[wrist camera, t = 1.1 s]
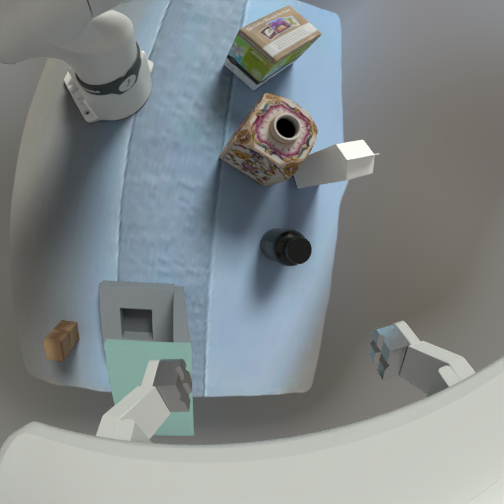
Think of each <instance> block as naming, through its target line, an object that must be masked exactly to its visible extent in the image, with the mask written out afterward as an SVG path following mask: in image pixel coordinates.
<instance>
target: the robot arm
mask: <svg viewBox="0 0 504 504" xmlns="http://www.w3.org/2000/svg"><path fill="white" fill-rule="evenodd" d="M130 1H132V0H2V1H1V2H0V63H2V64H16V63H18V62H21V61H24V60H28V59H33V58H41V57H49V58H57V59H61V60H64V61H66V62H67V63H68V64H69V65H70V66H69V68H68V73H67V74H66V76H65V79H64V82H65V84H66V86H67V88H68V90H69V92H70V94H71V95H72V97H73V99H74V101H75V103H76V105H77V106H78V108H79V110H80V112H81V114H82V115H83V117H84V119H85V121H86V122H87V123H92V122H96V121H99V120H119V119H123V118H126V117H128V116H130V115H132V114H133V113H135V112H136V111H138V110H139V109H140V108H141V107H142V106H143V105H144V103H145V102H146V101H147V99H148V97H149V95H150V92H151V86H152V84H151V74H152V71H153V69H154V64H153V62H152V61H150V60H148V59H147V57H146V54H145V52H144V51H140V48H139V46H138V44H137V42H136V41H135V35H134V28H133V24H132V22H131V20H130V19H129V18H128V17H127V16H125V15H124V14H122V13H119V12H117V11H113V10H111V9H113V8H116V7H118V6H120V5H123V4H125V3H127V2H130ZM87 112H89V114H87ZM86 114H87V115H86ZM371 337H372V338H373V341H372V342H371V343H370V347H369V352H370V357H371V360H372V362H373V363H374V364H376V365H378V368H377V371H378V373H379V375H380V376H381V378H382V380H385V379H388V378H392V377H395V376H398V375H399V376H400V377H401V378H403V379H404V380H406V381H407V382H409V383H410V384H412V385H414V386H415V387H417V388H418V389H420V390H421V391H423V392H424V393H426V394H427V396H426V398H424V399H422V400H419V401H417V402H414V403H412V404H409V405H407V406H404V407H402V408H399V409H396V410H394V411H391V412H388V413H385V414H382V415H379V416H376V417H373V418H370V419H366V420H363V421H360V422H357V423H353V424H349V425H345V426H341V427H338V428H334V429H329V430H325V431H320V432H316V433H311V434H306V435H301V436H295V437H289V438H282V439H275V440H268V441H259V442H250V443H237V444H219V445H173V444H155V443H152V442H151V441H150V440H149V439H150V438H151V437H152V435H153V434H154V433H155V432H156V431H157V430H158V428H159V427H160V426H161V425H162V423H163V422H164V421H165V420H166V419H167V417H168V416H169V415H170V414H171V413H170V412H189V409H190V401H191V400H190V397H189V394H190V393H191V392H192V379H191V375H190V373H189V371H187V370H186V363H185V361H184V359H161V360H150V361H149V362H148V365H147V368H146V371H145V374H144V377H143V380H142V383H141V386H137V387H136V388H135V389H134V390H133V391H131V392H130V393H129V394H128V395H127V396H126V397H124V398H123V399H122V400H121V401H120V402H118V403H117V404H116V405H115V406H114V407H112V408H111V409H110V410H109V411H108V412H107V413H105V414H104V415H103V417H102V420H101V423H100V425H99V428H98V431H97V434H96V436H93V435H88V434H83V433H78V432H74V431H70V430H66V429H62V428H58V427H54V426H51V425H47V424H44V423H41V422H37V421H32V422H30V423H28V424H26V425H25V426H23V427H21V428H20V429H18V430H17V431H15V432H14V433H12V434H11V435H10V436H9V437H8V438H7V439H6V441H5V443H4V444H3V446H2V448H1V449H0V504H504V356H502V357H501V358H499V359H498V360H496V361H495V362H493V363H491V364H490V365H488V366H487V367H485V368H483V369H482V370H480V371H478V372H476V373H475V371H474V370H473V369H472V368H471V366H470V365H469V364H468V363H467V361H466V360H465V359H464V358H463V357H462V356H459V355H457V354H454V353H452V352H449V351H447V350H444V349H442V348H439V347H437V346H434V345H432V344H430V343H427V342H425V341H422V342H420V341H419V339H418V338H417V337H416V335H415V334H414V333H413V331H412V330H411V329H410V328H409V327H408V325H407V324H406V323H405V322H404V321H400V322H397V323H393V324H390V325H386V326H383V327H379V328H376V329H373V331H372V334H371Z"/></svg>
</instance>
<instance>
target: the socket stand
mask: <svg viewBox="0 0 504 504" xmlns="http://www.w3.org/2000/svg"><path fill="white" fill-rule="evenodd" d="M99 303H100V316H101V327H102V336H103V344H104V352H105V356H106V363H107V369H108V375H109V380H110V386H111V391H112V395H113V400H114V405H116V404H117V403H118V402H120V401H121V400H122V399H123V398H124V397H126V396H127V395H128V394H129V393H130V392H131V391H133V390H134V389H135V388H136V387H137V386H141V383H142V380H143V377H144V374H145V371H146V368H147V365H148V362H149V361H150V360H161V359H184V361H185V363H186V370H187V371H189V373H190V375H191V379H192V348H191V341H190V334H189V327H188V320H187V312H186V304H185V295H184V287H174V284H159V283H138V282H119V281H103V282H102V283H100V284H99ZM189 397H190V400H191V401H190V409H189V412H170V413H171V414H170V415H169V416H168V417H167V419H166V420H165V421H164V422H163V423H162V425H161V426H160V427H159V428H158V430H157V431H156V432H155V433H154V434H153V435H166V436H170V435H171V436H189V435H191V436H192V435H194V424H193V403H192V402H193V400H192V392H191V393H190V394H189Z"/></svg>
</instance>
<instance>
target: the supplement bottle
mask: <svg viewBox="0 0 504 504" xmlns="http://www.w3.org/2000/svg"><path fill="white" fill-rule="evenodd" d="M261 249H262V252H263V254H264V255H265V256H266V257H267V258H269V259H270V260H273V261H275V262H277V263H280V264H282V265H285V266H295V265H297V264H301V263H304V262H305V261H307V260H308V259H309V257H310V255H311V250H312V249H311V244H310V242H309V241H308V240H307V239H305V237H304V236H303V235H302V234H301V233H300V232H298V231H295V230H288V229H271V230H269V231H268V232H266V233H265V235H264V236H263V238H262V241H261Z"/></svg>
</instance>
